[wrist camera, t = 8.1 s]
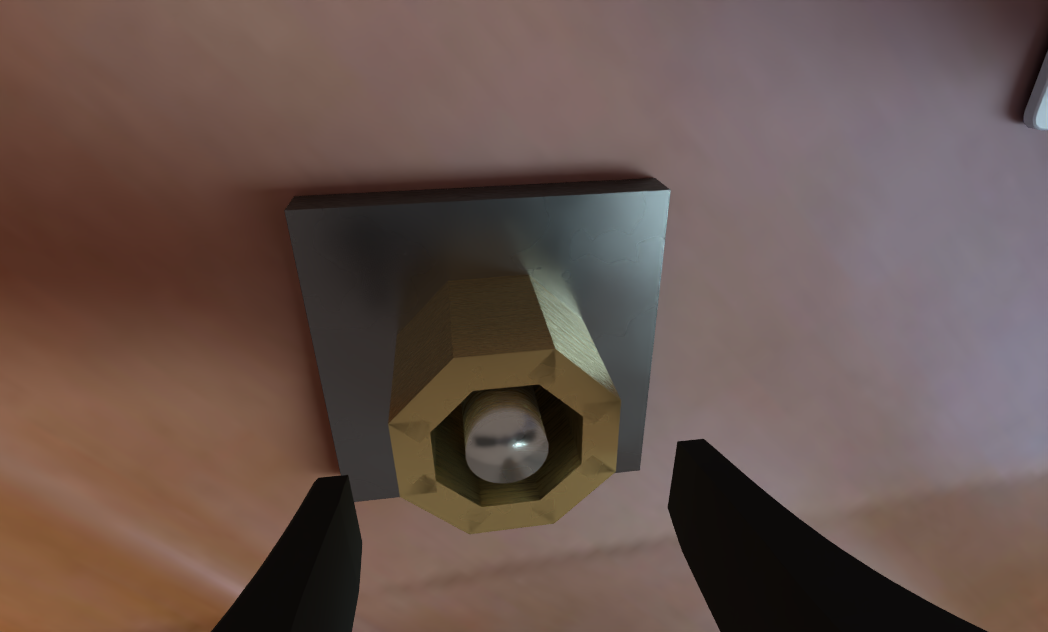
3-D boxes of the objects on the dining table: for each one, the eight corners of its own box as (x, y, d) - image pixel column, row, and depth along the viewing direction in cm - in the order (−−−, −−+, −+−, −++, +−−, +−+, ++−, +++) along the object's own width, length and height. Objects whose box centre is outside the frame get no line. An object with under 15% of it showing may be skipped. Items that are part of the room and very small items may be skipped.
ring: (584, 270, 17) (625, 342, 13) (579, 421, 19) (612, 516, 16) (389, 285, 16) (378, 365, 12) (411, 439, 18) (407, 542, 15)
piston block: (655, 178, 17) (738, 243, 12) (629, 447, 22) (682, 566, 17) (294, 196, 16) (238, 276, 11) (351, 477, 20) (328, 613, 16)
